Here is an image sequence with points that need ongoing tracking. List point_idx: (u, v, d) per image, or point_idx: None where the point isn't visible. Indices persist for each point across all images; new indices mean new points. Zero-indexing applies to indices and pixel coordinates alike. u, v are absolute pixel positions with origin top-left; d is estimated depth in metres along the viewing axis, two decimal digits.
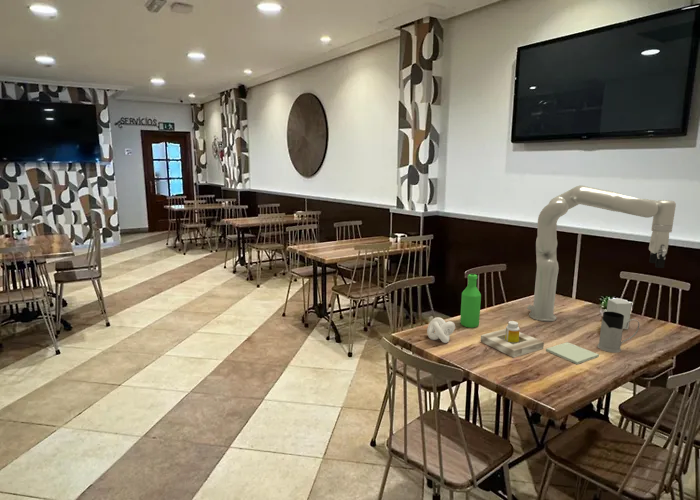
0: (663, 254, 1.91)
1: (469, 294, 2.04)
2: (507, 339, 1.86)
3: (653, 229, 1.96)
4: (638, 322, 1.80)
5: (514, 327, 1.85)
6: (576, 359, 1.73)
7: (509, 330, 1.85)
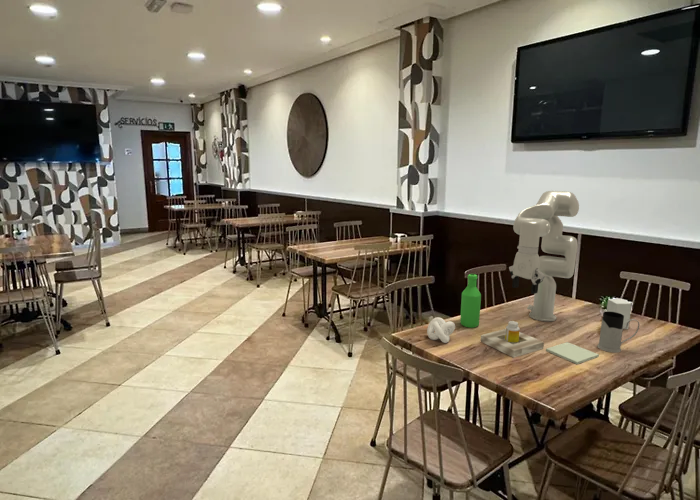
0: (542, 279, 1.76)
1: (469, 294, 2.04)
2: (507, 339, 1.86)
3: (525, 253, 1.78)
4: (638, 322, 1.80)
5: (514, 327, 1.85)
6: (576, 359, 1.73)
7: (509, 330, 1.85)
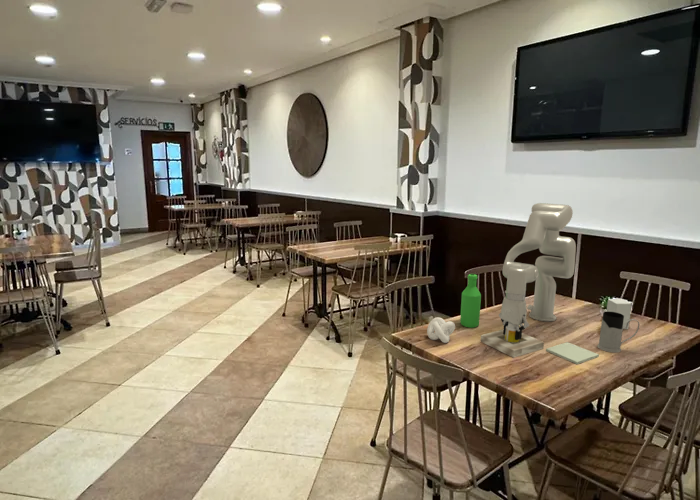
0: (525, 327, 1.81)
1: (469, 294, 2.04)
2: (507, 339, 1.86)
3: (512, 299, 1.81)
4: (638, 322, 1.80)
5: (514, 327, 1.85)
6: (576, 359, 1.73)
7: (509, 330, 1.85)
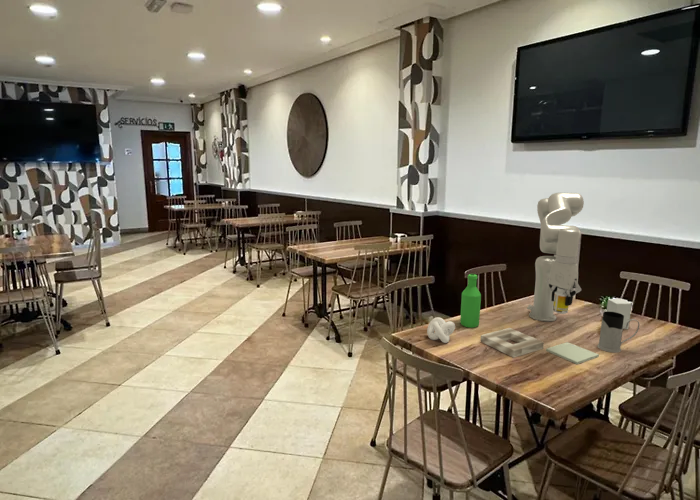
0: (577, 292, 1.71)
1: (469, 294, 2.04)
2: (556, 305, 1.77)
3: (563, 262, 1.71)
4: (638, 322, 1.80)
5: (564, 292, 1.75)
6: (576, 359, 1.73)
7: (559, 295, 1.75)
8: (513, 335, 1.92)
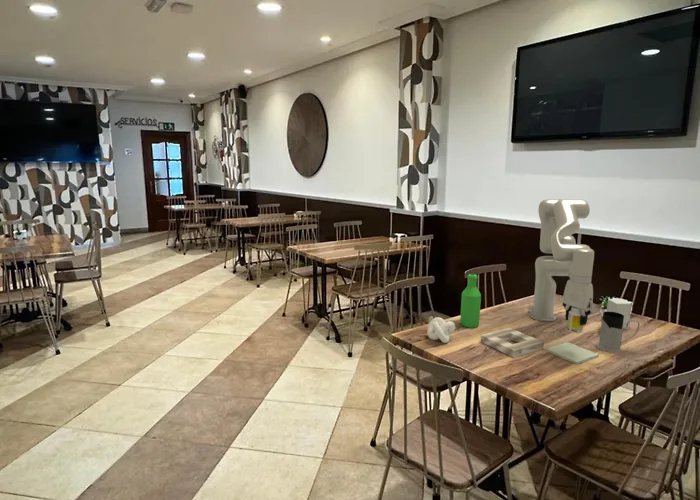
0: None
1: (469, 294, 2.04)
2: (571, 325, 1.76)
3: (578, 282, 1.71)
4: (638, 322, 1.80)
5: (579, 312, 1.74)
6: (576, 359, 1.73)
7: (573, 315, 1.75)
8: (513, 335, 1.92)
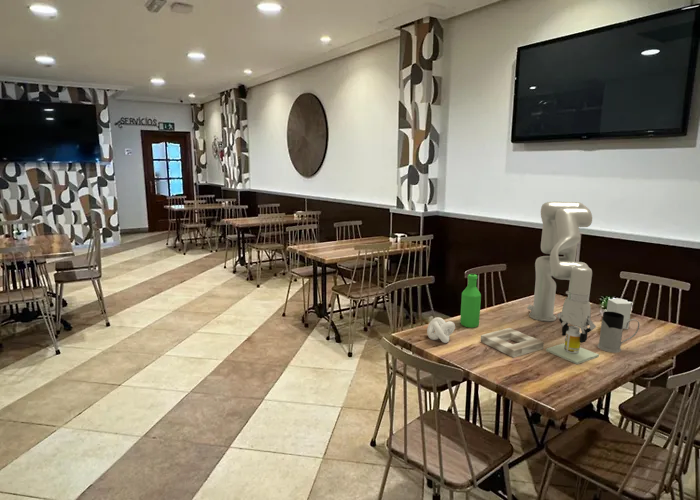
0: (592, 329, 1.71)
1: (469, 294, 2.04)
2: (568, 345, 1.78)
3: (576, 300, 1.72)
4: (638, 322, 1.80)
5: (576, 332, 1.76)
6: (576, 359, 1.73)
7: (570, 336, 1.77)
8: (513, 335, 1.92)
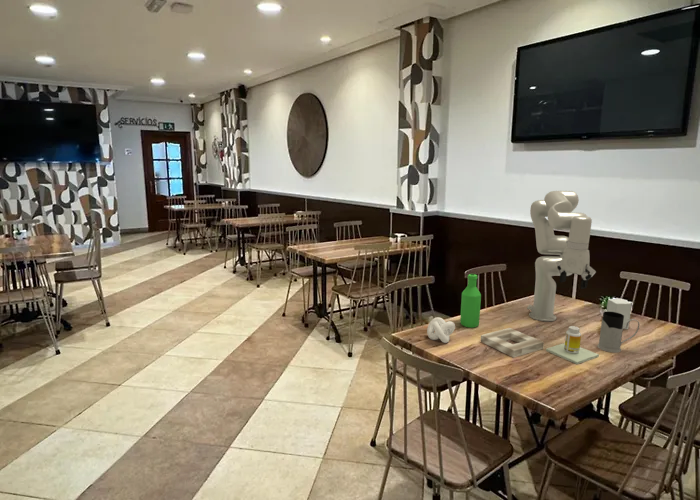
0: (592, 275, 1.77)
1: (469, 294, 2.04)
2: (568, 345, 1.78)
3: (575, 248, 1.78)
4: (638, 322, 1.80)
5: (576, 332, 1.76)
6: (576, 359, 1.73)
7: (570, 336, 1.77)
8: (513, 335, 1.92)
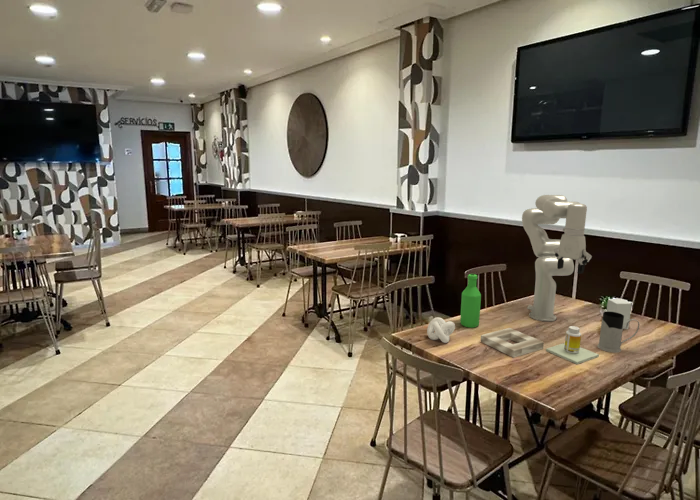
0: (589, 259, 1.84)
1: (469, 294, 2.04)
2: (568, 345, 1.78)
3: (572, 234, 1.86)
4: (638, 322, 1.80)
5: (576, 332, 1.76)
6: (576, 359, 1.73)
7: (570, 336, 1.77)
8: (513, 335, 1.92)
